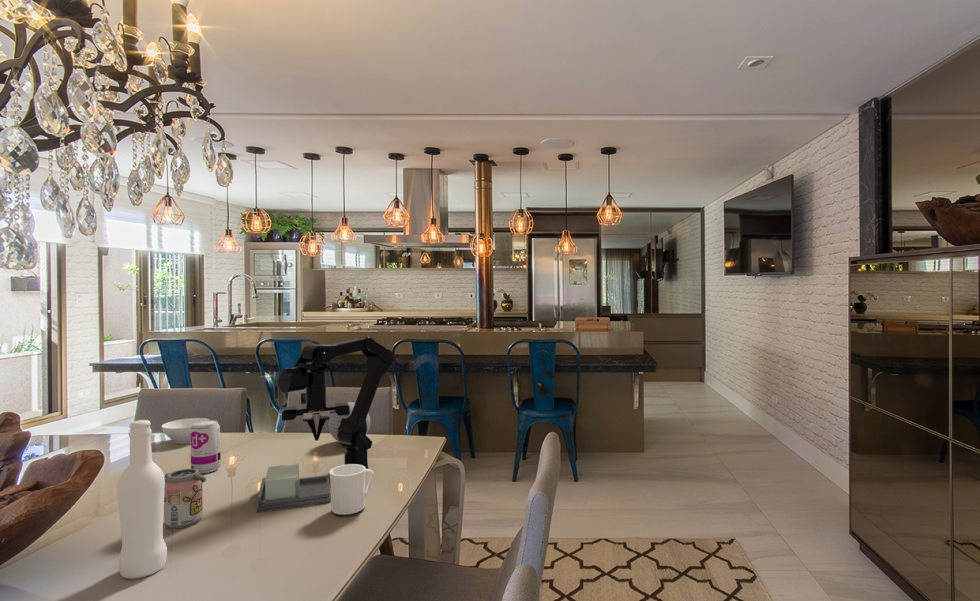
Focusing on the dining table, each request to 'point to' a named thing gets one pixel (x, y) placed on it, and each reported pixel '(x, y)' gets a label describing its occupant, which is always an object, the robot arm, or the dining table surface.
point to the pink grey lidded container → (183, 498)
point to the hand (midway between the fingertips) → (316, 440)
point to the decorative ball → (336, 420)
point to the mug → (349, 489)
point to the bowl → (180, 429)
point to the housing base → (309, 494)
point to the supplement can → (205, 446)
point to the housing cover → (282, 481)
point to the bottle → (141, 508)
